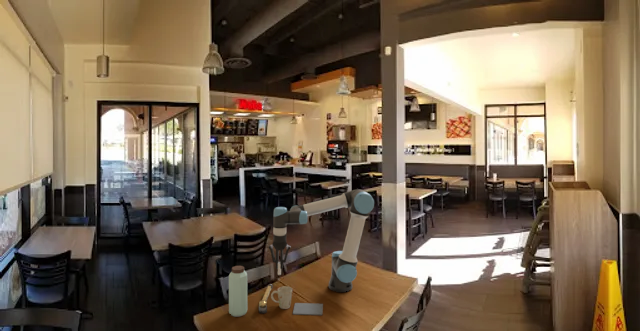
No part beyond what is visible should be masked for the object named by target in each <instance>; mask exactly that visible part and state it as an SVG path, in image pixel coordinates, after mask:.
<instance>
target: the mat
mask: <svg viewBox="0 0 640 331" xmlns="http://www.w3.org/2000/svg"><path fill="white" fill-rule="evenodd" d="M323 310H324V303H315V302H314V303H311V302H310V303H309V302H304V303H303V302H295V303H294V306H293V311H292V315H295V316H297V315H298V316H299V315H300V316H323V314H324V313H323Z"/></svg>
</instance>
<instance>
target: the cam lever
mask: <svg viewBox="0 0 640 331" xmlns="http://www.w3.org/2000/svg"><path fill="white" fill-rule="evenodd" d="M273 287H274V286H273V283H269V284H267V288H266V289H265V292H264V295H263V296H262V299H261V300H259V302H258V303H259V304H258V308H259V307H262V308H263V307H266V306H267V304H268V302H267V301H268V298H269V297H270V295H271V291H272V289H273ZM267 307H268V306H267Z"/></svg>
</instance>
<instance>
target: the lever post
mask: <svg viewBox="0 0 640 331" xmlns="http://www.w3.org/2000/svg"><path fill="white" fill-rule="evenodd" d="M258 313H259V314H261V315H263V314H267V313H268V306H266V307H263V308H262V307H259V306H258Z"/></svg>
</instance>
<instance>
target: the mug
mask: <svg viewBox="0 0 640 331" xmlns="http://www.w3.org/2000/svg"><path fill="white" fill-rule="evenodd" d="M275 294H277V297H278V300H275V298H274V295H275ZM292 295H293V288H292V287H290V286H288V285H287V286H285V285H284V286H280V287H278V288H277V289H276V290H273V291H272V292H271V293H270V299H271V300H272V301H273V302H274V303H278V305H279V308H280V309H282V310H287V309H290V308H291V304H292Z"/></svg>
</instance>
